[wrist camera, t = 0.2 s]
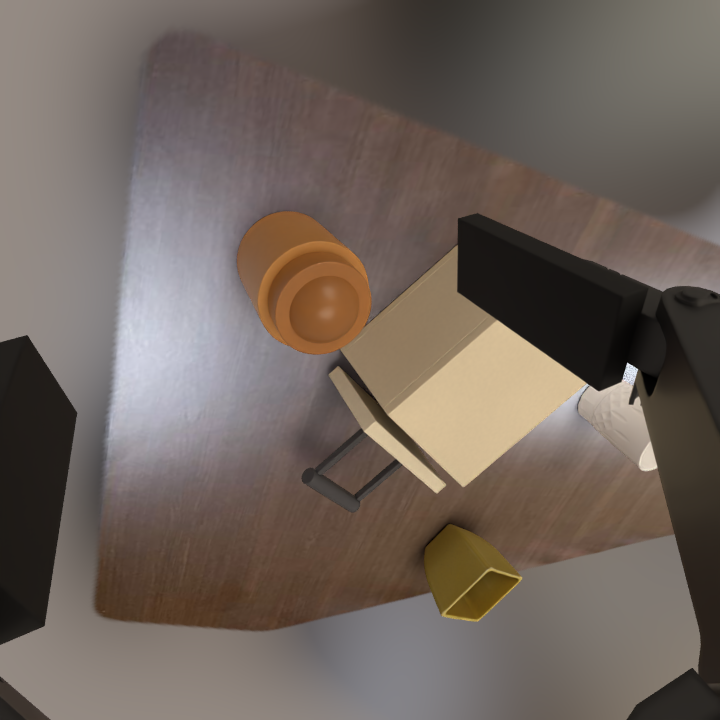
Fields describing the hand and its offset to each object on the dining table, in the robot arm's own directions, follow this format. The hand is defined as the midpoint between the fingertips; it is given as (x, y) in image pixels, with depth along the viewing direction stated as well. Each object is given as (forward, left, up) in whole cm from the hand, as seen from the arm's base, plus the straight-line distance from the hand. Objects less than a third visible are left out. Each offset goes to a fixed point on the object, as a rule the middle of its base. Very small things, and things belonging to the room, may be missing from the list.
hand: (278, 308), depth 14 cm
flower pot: (+54, -9, -19) cm, 58 cm away
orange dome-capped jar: (+8, +1, -19) cm, 20 cm away
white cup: (+51, +19, -19) cm, 57 cm away
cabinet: (+24, +7, -19) cm, 31 cm away
